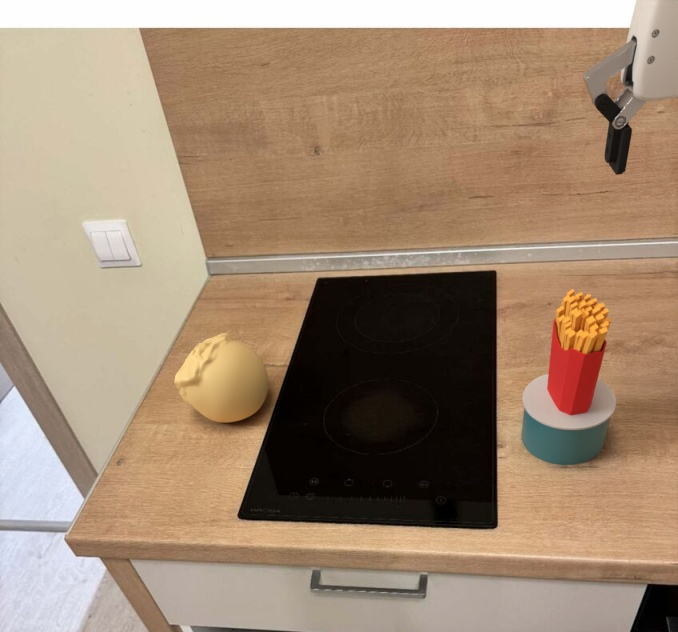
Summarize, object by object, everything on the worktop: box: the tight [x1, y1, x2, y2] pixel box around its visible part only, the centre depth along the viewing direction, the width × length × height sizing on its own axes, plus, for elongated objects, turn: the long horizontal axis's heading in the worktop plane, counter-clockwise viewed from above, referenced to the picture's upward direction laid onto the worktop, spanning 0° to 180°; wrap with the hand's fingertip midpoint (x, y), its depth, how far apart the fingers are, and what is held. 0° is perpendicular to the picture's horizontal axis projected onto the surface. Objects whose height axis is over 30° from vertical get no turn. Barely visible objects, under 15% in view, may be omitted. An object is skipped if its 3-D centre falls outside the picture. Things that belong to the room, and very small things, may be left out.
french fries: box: [547, 288, 612, 415], centre depth 67 cm, size 8×4×12 cm, turn 6°
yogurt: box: [520, 373, 617, 466], centre depth 74 cm, size 10×10×8 cm
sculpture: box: [174, 332, 269, 423], centre depth 87 cm, size 11×12×11 cm
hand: (670, 160), depth 58 cm, fingers open, 9 cm apart
